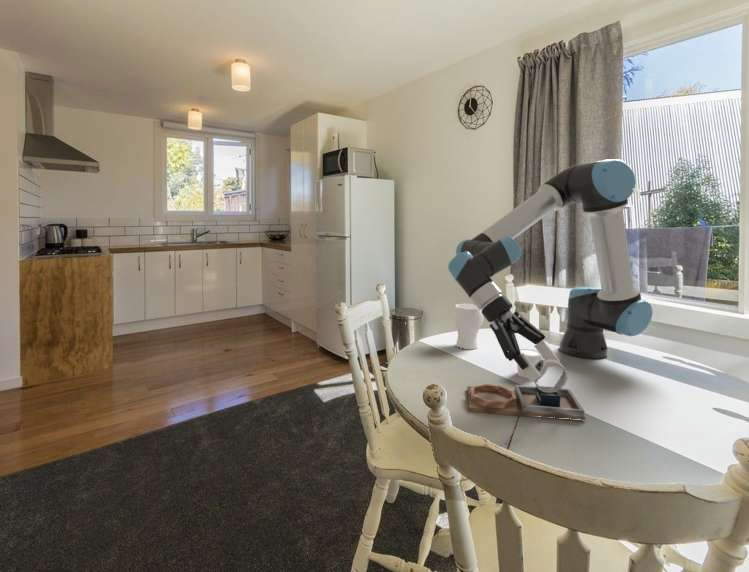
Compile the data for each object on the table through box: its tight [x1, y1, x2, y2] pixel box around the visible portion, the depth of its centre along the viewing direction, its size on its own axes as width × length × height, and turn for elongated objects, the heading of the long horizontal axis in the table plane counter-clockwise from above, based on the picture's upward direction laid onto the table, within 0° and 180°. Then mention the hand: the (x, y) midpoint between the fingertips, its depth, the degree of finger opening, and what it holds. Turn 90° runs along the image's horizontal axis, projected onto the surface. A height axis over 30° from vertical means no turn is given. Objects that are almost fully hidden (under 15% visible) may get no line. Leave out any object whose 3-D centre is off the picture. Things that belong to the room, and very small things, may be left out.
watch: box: [533, 359, 568, 407], centre depth 101 cm, size 6×8×11 cm
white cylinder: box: [516, 348, 542, 379], centre depth 123 cm, size 7×7×7 cm
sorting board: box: [467, 383, 586, 421], centre depth 103 cm, size 26×13×2 cm, turn 79°
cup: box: [452, 303, 484, 350], centre depth 150 cm, size 11×11×15 cm
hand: (546, 371), depth 101 cm, fingers open, 13 cm apart
